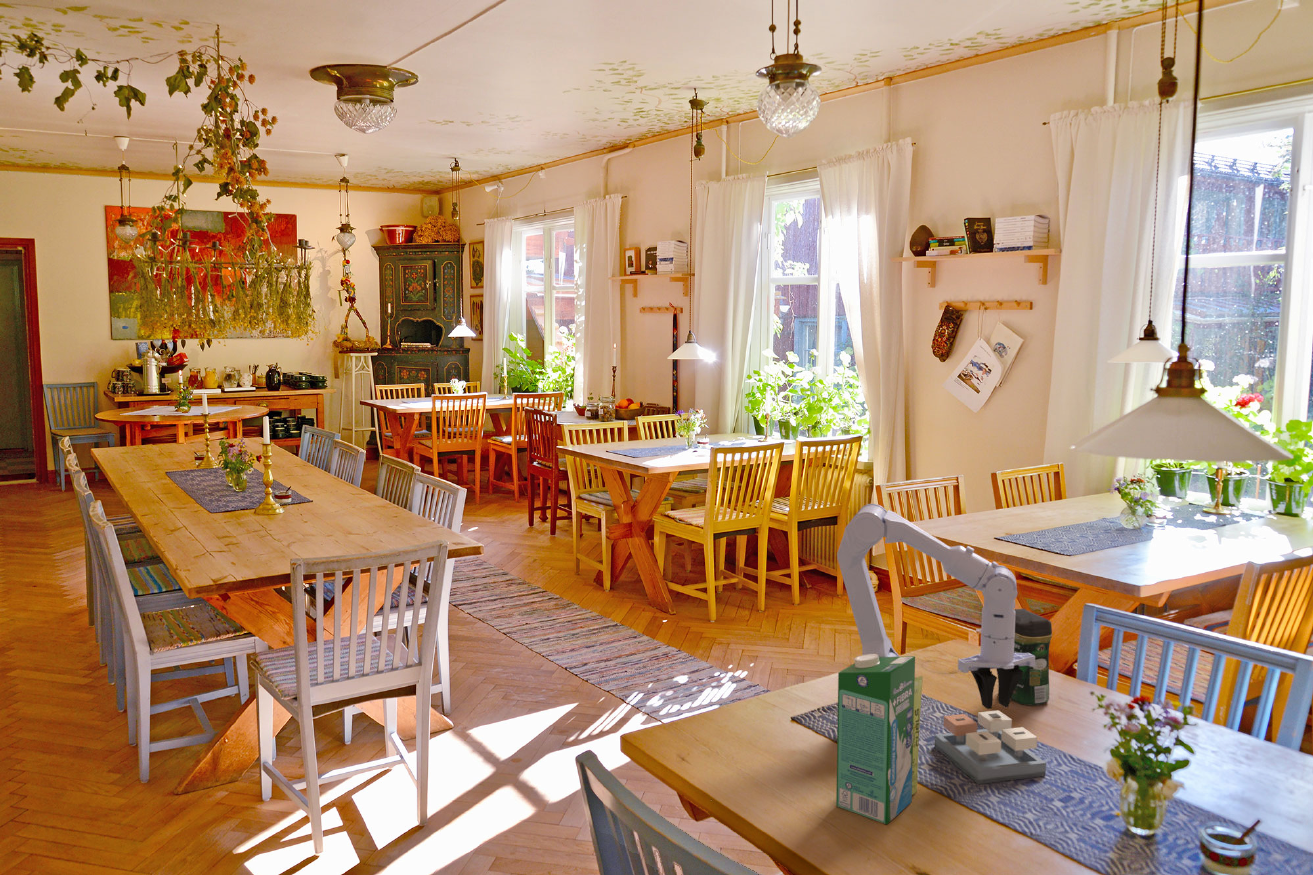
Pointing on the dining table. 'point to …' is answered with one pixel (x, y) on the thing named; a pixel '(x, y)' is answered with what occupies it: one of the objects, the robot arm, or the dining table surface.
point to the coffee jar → (1035, 640)
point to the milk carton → (875, 736)
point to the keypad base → (990, 761)
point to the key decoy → (960, 725)
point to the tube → (916, 730)
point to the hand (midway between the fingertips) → (995, 706)
